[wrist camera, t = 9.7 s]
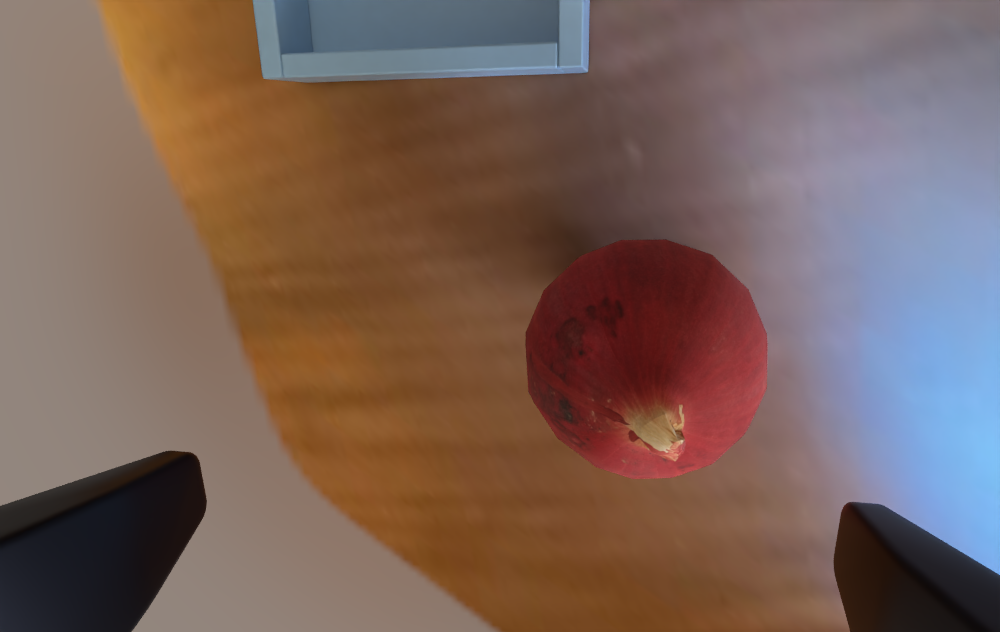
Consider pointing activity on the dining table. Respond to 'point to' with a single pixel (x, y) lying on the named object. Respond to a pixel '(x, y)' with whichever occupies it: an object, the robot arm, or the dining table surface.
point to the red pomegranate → (647, 358)
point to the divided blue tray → (420, 38)
